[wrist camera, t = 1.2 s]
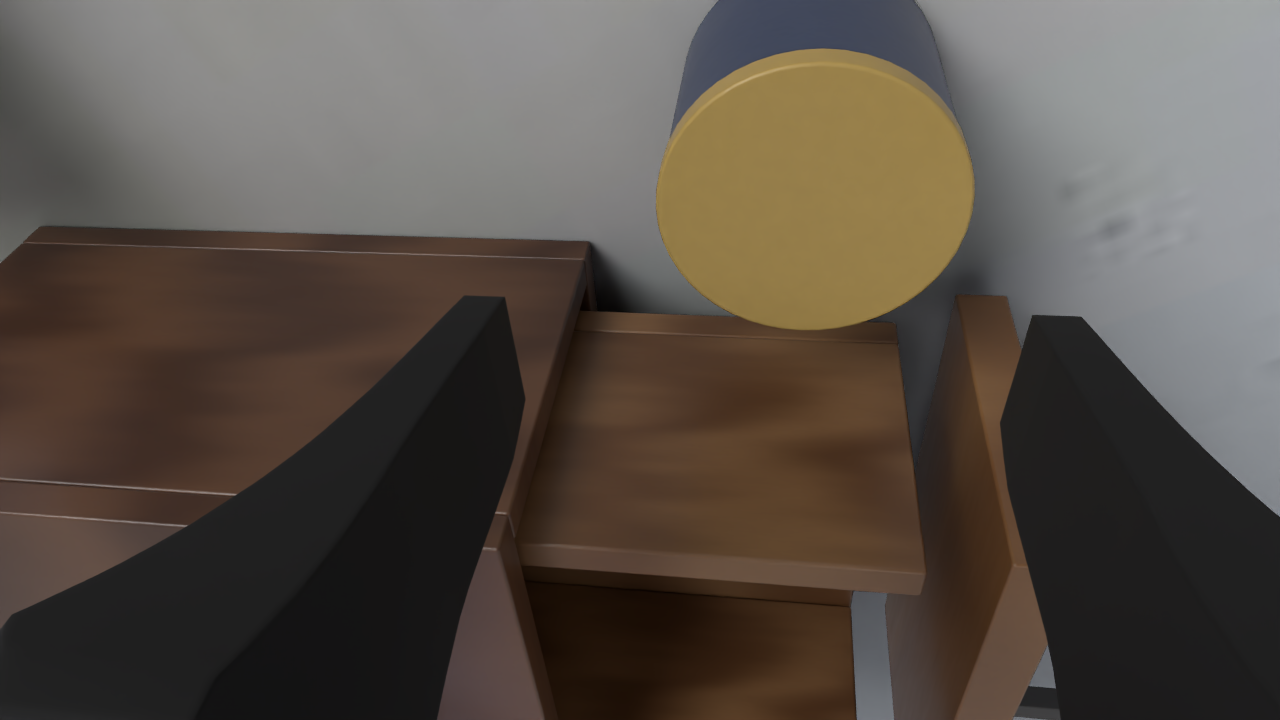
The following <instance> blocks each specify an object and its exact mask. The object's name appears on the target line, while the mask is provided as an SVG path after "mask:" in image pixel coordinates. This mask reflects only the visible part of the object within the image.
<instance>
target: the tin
mask: <svg viewBox="0 0 1280 720" xmlns="http://www.w3.org/2000/svg"><path fill="white" fill-rule="evenodd" d="M974 198H975V178H974V172H973V167H972V161H971V157H970V154H969V150H968V146H967V144H966V141H965V138H964V135H963V132H962V130H961V127H960V126H959V124H958V122H957V119H956V115H955V112H954V108H953V104H952V101H951V97H950V93H949V90H948V86H947V83H946V79H945V75H944V72H943V68H942V65H941V61H940V57H939V54H938V50H937V47H936V43H935V40H934V37H933V34H932V31H931V28H930V26H929V24H928V22H927V20H926V18H925V16H924V14H923V13H922V11H921V9H920V8H919V7H918V6H917V4H916V3H915V2H914V0H719V1H718V2H717V3H716V4H715V5H714V7H713V8H712V9H711V10H710V11H709V12H708V14H707V15H706V17H705V18H704V20H703V21H702V23H701V24H700V26H699V28H698V30H697V32H696V34H695V36H694V38H693V40H692V42H691V45H690V48H689V51H688V55H687V58H686V63H685V67H684V72H683V77H682V82H681V86H680V91H679V96H678V101H677V105H676V110H675V115H674V120H673V124H672V129H671V134H670V139H669V141H668V144H667V147H666V150H665V153H664V156H663V159H662V163H661V168H660V172H659V178H658V183H657V189H656V212H657V220H658V226H659V229H660V233H661V236H662V240H663V242H664V244H665V247H666V249H667V251H668V253H669V255H670V257H671V259H672V260H673V262H674V263H675V265H676V267H677V268H678V270H679V271H680V272H681V274H682V275H683V276H684V277H685V278H686V280H687V281H688V282H689V283H690V284H691V285H692V286H693V287H694V288H695V289H696V290H697V291H698V292H699V293H701V294H702V295H703V296H704V297H706V298H707V299H708V300H710V301H711V302H713V303H714V304H715V305H717V306H719V307H721V308H722V309H724V310H726V311H728V312H730V313H731V314H734V315H736V316H739V317H741V318H743V319H746V320H748V321H752V322H755V323H758V324H762V325H765V326H770V327H776V328H781V329H790V330H826V329H835V328H841V327H846V326H851V325H855V324H859V323H862V322H865V321H868V320H871V319H874V318H877V317H879V316H881V315H884V314H886V313H888V312H891V311H892V310H894V309H896V308H898V307H900V306H901V305H903V304H905V303H907V302H908V301H910V300H911V299H912V298H914V297H915V296H917V295H918V294H919V293H921V292H922V291H923V290H924V289H925V288H927V287H928V286H929V285H930V284H931V283H932V282H933V281H934V280H935V279H936V278H937V277H938V276H939V275H940V274H941V273H942V271H943V270H944V269H945V268H946V267H947V266H948V264H949V263H950V261H951V260H952V258H953V257H954V255H955V254H956V252H957V251H958V249H959V247H960V245H961V243H962V241H963V239H964V236H965V234H966V232H967V229H968V226H969V223H970V220H971V216H972V212H973V205H974Z"/></svg>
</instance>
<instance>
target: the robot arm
mask: <svg viewBox="0 0 1280 720" xmlns="http://www.w3.org/2000/svg"><path fill="white" fill-rule="evenodd" d="M525 400H526V398H525V393H524V388H523V383H522V378H521V373H520V368H519V363H518V358H517V353H516V348H515V343H514V339H513V334H512V329H511V324H510V319H509V314H508V309H507V304H506V299H505V297H498V296H469V295H464V296H463V297H462V298H461V299H460V300H459V301H458V302H457V303H456V304H455V305H454V306H453V307H452V308H451V309H450V310H449V311H448V312H447V313H446V314H445V315H444V316H443V317H442V318H441V319H440V320H439V321H438V322H437V323H436V324H435V325H434V326H433V327H432V328H431V329H430V330H429V331H428V332H427V333H426V334H425V335H424V336H423V337H422V338H421V339H420V340H419V341H418V342H417V343H416V344H415V345H414V346H413V347H412V348H411V349H410V350H409V351H408V353H407V354H406V355H405V356H404V357H403V358H402V359H401V360H399V361H398V362H397V363H396V364H395V365H394V366H393V367H392V368H391V369H390V370H389V371H388V372H387V373H386V374H385V375H384V376H383V377H382V378H381V379H380V380H379V381H378V382H377V383H376V384H375V385H374V386H373V387H372V388H371V389H370V390H369V391H368V392H366V393H365V394H364V395H363V396H362V397H361V398H360V399H359V400H358V401H356V402H355V403H354V404H353V405H352V406H351V407H350V408H349V409H347V410H346V411H345V412H344V413H343V414H342V415H341V416H339V417H338V418H337V419H336V420H335V421H334V422H333V423H332V424H330V425H329V426H328V427H327V428H326V429H325V430H324V431H322V432H321V433H320V434H319V435H317V436H316V437H315V438H314V439H313V440H311V441H310V442H309V443H308V444H306V445H305V446H304V447H302V448H301V449H300V450H299V451H297V452H296V453H295V454H293V455H292V456H291V457H289V458H288V459H287V460H285V461H284V462H283V463H281V464H280V465H279V466H277V467H276V468H275V469H273V470H272V471H270V472H269V473H268V474H266V475H265V476H264V477H262V478H261V479H259V480H258V481H256V482H255V483H254V484H252V485H251V486H249V487H247V488H246V489H244V490H243V491H241V492H240V493H238V494H237V495H235V496H233V497H232V498H230V499H229V500H227V501H226V502H224V503H223V504H221V505H220V506H218V507H216V508H215V509H213V510H212V511H210V512H209V513H207V514H206V515H204V516H202V517H201V518H199V519H198V520H196V521H195V522H193V523H191V524H190V525H188V526H186V527H185V528H183V529H181V530H179V531H178V532H176V533H174V534H172V535H171V536H169V537H167V538H165V539H164V540H162V541H160V542H158V543H157V544H155V545H153V546H151V547H149V548H147V549H146V550H144V551H142V552H140V553H138V554H136V555H134V556H133V557H131V558H129V559H127V560H125V561H123V562H121V563H120V564H118V565H116V566H114V567H112V568H110V569H108V570H106V571H104V572H102V573H100V574H98V575H96V576H94V577H92V578H89V579H87V580H85V581H83V582H81V583H79V584H77V585H75V586H72V587H70V588H68V589H66V590H64V591H62V592H60V593H58V594H55V595H53V596H51V597H49V598H47V599H45V600H43V601H41V602H38V603H36V604H34V605H32V606H30V607H28V608H25V609H23V610H21V611H18V612H16V613H14V614H12V615H11V616H10V617H9V619H8V620H7V621H6V622H5V624H4V625H3V626H2V628H1V629H0V720H437V717H438V713H439V708H440V703H441V699H442V694H443V689H444V685H445V680H446V675H447V671H448V667H449V663H450V658H451V654H452V650H453V645H454V641H455V637H456V633H457V628H458V624H459V620H460V616H461V613H462V609H463V606H464V603H465V599H466V596H467V593H468V589H469V586H470V583H471V581H472V578H473V575H474V572H475V569H476V566H477V563H478V561H479V558H480V555H481V552H482V549H483V546H484V544H485V541H486V538H487V535H488V532H489V529H490V526H491V524H492V521H493V518H494V515H495V512H496V509H497V506H498V504H499V501H500V498H501V495H502V492H503V489H504V486H505V483H506V480H507V477H508V474H509V471H510V468H511V465H512V462H513V459H514V454H515V450H516V445H517V441H518V436H519V431H520V426H521V421H522V416H523V410H524V405H525ZM1000 429H1001V439H1002V448H1003V457H1004V465H1005V473H1006V480H1007V488H1008V492H1009V496H1010V501H1011V505H1012V508H1013V512H1014V516H1015V520H1016V524H1017V528H1018V532H1019V536H1020V539H1021V543H1022V547H1023V551H1024V554H1025V558H1026V562H1027V566H1028V569H1029V573H1030V577H1031V581H1032V584H1033V588H1034V592H1035V596H1036V599H1037V603H1038V607H1039V611H1040V614H1041V618H1042V622H1043V626H1044V629H1045V633H1046V637H1047V642H1048V647H1049V651H1050V656H1051V661H1052V665H1053V671H1054V677H1055V684H1056V691H1057V697H1058V704H1059V711H1060V717H1061V720H1280V517H1279V516H1278V515H1277V514H1275V513H1274V512H1273V511H1272V510H1270V509H1269V508H1268V507H1267V506H1266V505H1265V504H1264V503H1262V502H1261V501H1260V500H1259V499H1258V498H1257V497H1255V496H1254V495H1253V494H1252V493H1251V492H1250V491H1249V490H1247V489H1246V488H1245V487H1244V486H1243V485H1242V484H1241V483H1240V482H1239V481H1238V480H1237V479H1236V478H1235V477H1233V476H1232V475H1231V474H1230V473H1229V472H1228V471H1227V470H1226V469H1225V468H1224V467H1223V466H1222V465H1221V464H1219V463H1218V462H1217V461H1216V460H1215V459H1214V458H1213V457H1212V456H1211V455H1210V454H1209V453H1208V452H1207V451H1206V450H1205V449H1204V448H1203V447H1202V446H1201V445H1200V444H1199V443H1198V442H1197V441H1196V440H1195V439H1194V438H1193V437H1191V436H1190V435H1189V434H1188V432H1187V431H1186V430H1185V429H1184V428H1183V427H1182V426H1181V425H1180V424H1179V423H1178V422H1177V421H1176V420H1175V419H1174V418H1173V417H1172V416H1171V415H1170V414H1169V413H1168V412H1167V411H1166V410H1165V409H1164V408H1163V407H1162V406H1161V405H1160V403H1159V402H1158V401H1157V400H1156V399H1155V398H1154V397H1153V396H1152V395H1151V394H1150V393H1149V392H1148V391H1147V389H1146V388H1145V387H1144V386H1143V385H1142V384H1141V383H1140V382H1139V381H1138V380H1137V378H1136V377H1135V376H1134V375H1133V374H1132V373H1131V372H1130V371H1129V370H1128V368H1127V367H1126V366H1125V365H1124V364H1123V363H1122V362H1121V361H1120V359H1119V358H1118V357H1117V356H1116V355H1115V354H1114V353H1113V352H1112V350H1111V349H1110V348H1109V347H1108V346H1107V345H1106V344H1105V343H1104V341H1103V340H1102V339H1101V338H1100V337H1099V336H1098V335H1097V334H1096V332H1095V331H1094V330H1093V329H1092V328H1091V327H1090V326H1089V325H1088V324H1087V322H1086V321H1085V320H1084V319H1083V318H1082V317H1075V316H1046V315H1032V318H1031V321H1030V325H1029V328H1028V331H1027V335H1026V338H1025V341H1024V345H1023V348H1022V351H1021V354H1020V358H1019V361H1018V364H1017V368H1016V371H1015V374H1014V378H1013V381H1012V384H1011V387H1010V391H1009V394H1008V397H1007V401H1006V404H1005V407H1004V411H1003V414H1002V417H1001V420H1000Z"/></svg>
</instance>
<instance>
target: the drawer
mask: <svg viewBox="0 0 1280 720" xmlns="http://www.w3.org/2000/svg"><path fill="white" fill-rule="evenodd" d="M1021 351H1022V350H1021V346H1020V343H1019V339H1018V336H1017V332H1016V329H1015V325H1014V321H1013V318H1012V314H1011V311H1010V307H1009V303H1008V300H1007V297H1006V296H993V295H963V294H958V295H956V296H955V299H954V304H953V308H952V313H951V317H950V321H949V326H948V330H947V335H946V339H945V343H944V348H943V352H942V357H941V361H940V365H939V370H938V374H937V379H936V383H935V387H934V392H933V396H932V401H931V405H930V409H929V414H928V418H927V423H926V427H925V431H924V436H923V440H922V445H921V449H920V453H919V458H918V462H917V467H916V471H915V470H914V462H913V454H912V446H911V439H910V431H909V423H908V415H907V407H906V399H905V391H904V384H903V376H902V368H901V360H900V352H899V347H898V336H897V328H896V324H895V323H890V322H862V323H859V324H855V325H851V326H846V327H841V328H835V329H826V330H790V329H781V328H776V327H770V326H765V325H762V324H758V323H755V322H752V321H748V320H746V319H743V318H741V317H731V316H705V315H678V314H652V313H625V312H599V311H579V314H578V317H577V321H576V324H575V328H574V331H573V335H572V339H571V342H570V346H569V349H568V353H567V356H566V360H565V364H564V367H563V371H562V374H561V378H560V381H559V385H558V388H557V392H556V396H555V399H554V403H553V406H552V410H551V413H550V417H549V420H548V424H547V428H546V431H545V435H544V438H543V442H542V445H541V449H540V453H539V456H538V460H537V463H536V467H535V470H534V474H533V477H532V481H531V485H530V488H529V492H528V495H527V499H526V502H525V506H524V510H523V513H522V517H521V520H520V524H519V527H518V531H517V534H516V537H515V538H514V541H515V545H516V549H517V553H518V557H519V561H520V565H521V569H522V573H523V577H524V581H525V585H526V589H527V594H528V598H529V602H530V606H531V610H532V614H533V618H534V622H535V626H536V630H537V634H538V638H539V642H540V646H541V650H542V654H543V659H544V663H545V667H546V671H547V675H548V679H549V683H550V687H551V691H552V695H553V699H554V703H555V707H556V711H557V715H558V719H559V720H857V714H856V695H855V675H854V656H853V637H852V617H851V608H850V607H851V602H852V596H853V591H865V592H878V593H888V594H887V599H886V603H885V614H886V626H887V638H888V650H889V662H890V674H891V686H892V698H893V710H894V720H1013V718H1014V716H1015V717H1026V718H1037V719H1048V720H1061V717H1060V711H1059V704H1058V697H1057V691H1056V689H1055V688H1043V687H1032V686H1029V684H1030V681H1031V679H1032V677H1033V675H1034V673H1035V671H1036V669H1037V667H1038V664H1039V662H1040V660H1041V658H1042V656H1043V654H1044V652H1045V649H1046V647H1047V645H1048V642H1047V637H1046V633H1045V629H1044V626H1043V622H1042V618H1041V614H1040V611H1039V607H1038V603H1037V599H1036V596H1035V592H1034V588H1033V584H1032V581H1031V577H1030V573H1029V569H1028V566H1027V562H1026V558H1025V554H1024V551H1023V547H1022V543H1021V539H1020V536H1019V532H1018V528H1017V524H1016V520H1015V516H1014V512H1013V508H1012V505H1011V501H1010V496H1009V492H1008V488H1007V480H1006V473H1005V465H1004V457H1003V448H1002V439H1001V429H1000V420H1001V417H1002V414H1003V411H1004V407H1005V404H1006V401H1007V397H1008V394H1009V391H1010V387H1011V384H1012V381H1013V378H1014V374H1015V371H1016V368H1017V364H1018V361H1019V358H1020V354H1021Z"/></svg>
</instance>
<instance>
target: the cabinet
mask: <svg viewBox="0 0 1280 720" xmlns="http://www.w3.org/2000/svg"><path fill="white" fill-rule="evenodd" d="M464 295H469V296H498V297H505V299H506V304H507V309H508V314H509V319H510V324H511V329H512V334H513V339H514V343H515V348H516V353H517V358H518V363H519V368H520V373H521V378H522V383H523V388H524V393H525V398H526V400H525V405H524V410H523V416H522V421H521V426H520V431H519V436H518V441H517V445H516V450H515V454H514V459H513V462H512V465H511V468H510V471H509V474H508V477H507V480H506V483H505V486H504V489H503V492H502V495H501V498H500V501H499V504H498V506H497V509H496V512H495V515H494V518H493V521H492V524H491V526H490V529H489V532H488V535H487V538H486V541H485V544H484V546H483V549H482V552H481V555H480V558H479V561H478V563H477V566H476V569H475V572H474V575H473V578H472V581H471V583H470V586H469V589H468V593H467V596H466V599H465V603H464V606H463V609H462V613H461V616H460V620H459V624H458V628H457V633H456V637H455V641H454V645H453V650H452V654H451V658H450V663H449V667H448V671H447V675H446V680H445V685H444V689H443V694H442V699H441V703H440V708H439V713H438V717H437V720H559V719H558V715H557V711H556V707H555V703H554V699H553V695H552V691H551V687H550V683H549V679H548V675H547V671H546V667H545V663H544V659H543V654H542V650H541V646H540V642H539V638H538V634H537V630H536V626H535V622H534V618H533V614H532V610H531V606H530V602H529V598H528V594H527V589H526V585H525V581H524V577H523V573H522V569H521V565H520V561H519V557H518V553H517V549H516V545H515V541H514V538H515V537H516V534H517V531H518V527H519V524H520V520H521V517H522V513H523V510H524V506H525V502H526V499H527V495H528V492H529V488H530V485H531V481H532V477H533V474H534V470H535V467H536V463H537V460H538V456H539V453H540V449H541V445H542V442H543V438H544V435H545V431H546V428H547V424H548V420H549V417H550V413H551V410H552V406H553V403H554V399H555V396H556V392H557V388H558V385H559V381H560V378H561V374H562V371H563V367H564V364H565V360H566V356H567V353H568V349H569V346H570V342H571V339H572V335H573V331H574V328H575V324H576V321H577V317H578V314H579V311H597V303H596V294H595V285H594V276H593V267H592V258H591V249H590V243H589V242H588V241H553V240H516V239H480V238H443V237H407V236H370V235H334V234H297V233H261V232H224V231H187V230H151V229H114V228H78V227H39V228H38V229H37V230H36V231H35V232H33V233H32V234H31V235H30V236H29V237H28V238H27V239H26V240H25V241H24V242H23V244H21V245H20V246H19V247H18V248H17V249H15V250H14V251H13V252H12V253H11V254H10V255H9V256H8V257H7V258H6V259H4V260H3V261H2V262H1V263H0V629H1V628H2V626H3V625H4V624H5V622H6V621H7V620H8V619H9V617H10V616H11V615H12V614H14V613H16V612H18V611H21V610H23V609H25V608H28V607H30V606H32V605H34V604H36V603H38V602H41V601H43V600H45V599H47V598H49V597H51V596H53V595H55V594H58V593H60V592H62V591H64V590H66V589H68V588H70V587H72V586H75V585H77V584H79V583H81V582H83V581H85V580H87V579H89V578H92V577H94V576H96V575H98V574H100V573H102V572H104V571H106V570H108V569H110V568H112V567H114V566H116V565H118V564H120V563H121V562H123V561H125V560H127V559H129V558H131V557H133V556H134V555H136V554H138V553H140V552H142V551H144V550H146V549H147V548H149V547H151V546H153V545H155V544H157V543H158V542H160V541H162V540H164V539H165V538H167V537H169V536H171V535H172V534H174V533H176V532H178V531H179V530H181V529H183V528H185V527H186V526H188V525H190V524H191V523H193V522H195V521H196V520H198V519H199V518H201V517H202V516H204V515H206V514H207V513H209V512H210V511H212V510H213V509H215V508H216V507H218V506H220V505H221V504H223V503H224V502H226V501H227V500H229V499H230V498H232V497H233V496H235V495H237V494H238V493H240V492H241V491H243V490H244V489H246V488H247V487H249V486H251V485H252V484H254V483H255V482H256V481H258V480H259V479H261V478H262V477H264V476H265V475H266V474H268V473H269V472H270V471H272V470H273V469H275V468H276V467H277V466H279V465H280V464H281V463H283V462H284V461H285V460H287V459H288V458H289V457H291V456H292V455H293V454H295V453H296V452H297V451H299V450H300V449H301V448H302V447H304V446H305V445H306V444H308V443H309V442H310V441H311V440H313V439H314V438H315V437H316V436H317V435H319V434H320V433H321V432H322V431H324V430H325V429H326V428H327V427H328V426H329V425H330V424H332V423H333V422H334V421H335V420H336V419H337V418H338V417H339V416H341V415H342V414H343V413H344V412H345V411H346V410H347V409H349V408H350V407H351V406H352V405H353V404H354V403H355V402H356V401H358V400H359V399H360V398H361V397H362V396H363V395H364V394H365V393H366V392H368V391H369V390H370V389H371V388H372V387H373V386H374V385H375V384H376V383H377V382H378V381H379V380H380V379H381V378H382V377H383V376H384V375H385V374H386V373H387V372H388V371H389V370H390V369H391V368H392V367H393V366H394V365H395V364H396V363H397V362H398V361H399V360H401V359H402V358H403V357H404V356H405V355H406V354H407V353H408V351H409V350H410V349H411V348H412V347H413V346H414V345H415V344H416V343H417V342H418V341H419V340H420V339H421V338H422V337H423V336H424V335H425V334H426V333H427V332H428V331H429V330H430V329H431V328H432V327H433V326H434V325H435V324H436V323H437V322H438V321H439V320H440V319H441V318H442V317H443V316H444V315H445V314H446V313H447V312H448V311H449V310H450V309H451V308H452V307H453V306H454V305H455V304H456V303H457V302H458V301H459V300H460V299H461V298H462V297H463V296H464Z"/></svg>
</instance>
